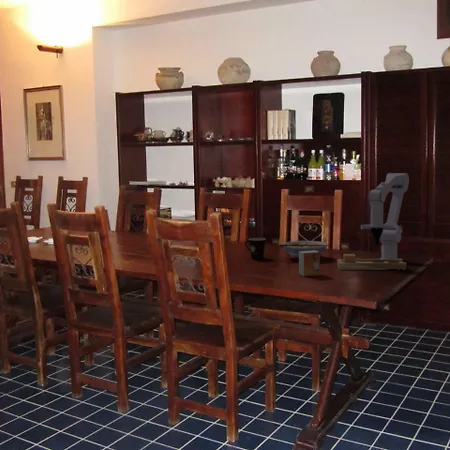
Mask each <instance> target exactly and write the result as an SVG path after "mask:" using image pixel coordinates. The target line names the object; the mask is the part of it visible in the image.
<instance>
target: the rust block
mask: <svg viewBox="0 0 450 450" xmlns="http://www.w3.org/2000/svg"><path fill="white" fill-rule="evenodd" d="M343 259H344V263H355V259H356V255H355V253H343Z"/></svg>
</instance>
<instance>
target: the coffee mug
mask: <svg viewBox="0 0 450 450" xmlns="http://www.w3.org/2000/svg"><path fill="white" fill-rule="evenodd" d="M244 243H245V247H246V249H248V251H249V252H250V253H249V254H250V258H252V259H251V260H263V259H264V258H265V248H266V238H264V237H252V238H248V240H246V241H245V242H244ZM247 243H249V245H247ZM248 246H249V247H248Z"/></svg>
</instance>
